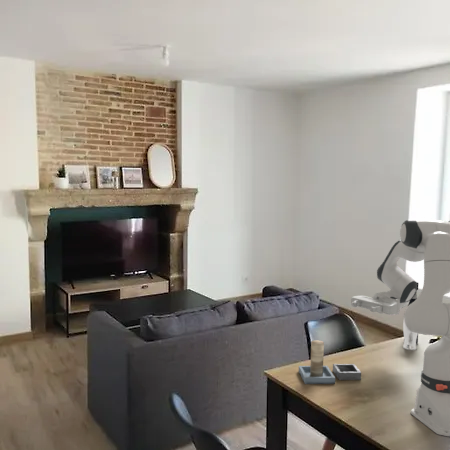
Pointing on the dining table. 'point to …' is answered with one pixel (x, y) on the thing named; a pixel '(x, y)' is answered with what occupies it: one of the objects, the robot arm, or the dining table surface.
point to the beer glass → (409, 338)
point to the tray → (326, 379)
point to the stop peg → (317, 358)
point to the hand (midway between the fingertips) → (362, 307)
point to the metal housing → (346, 372)
